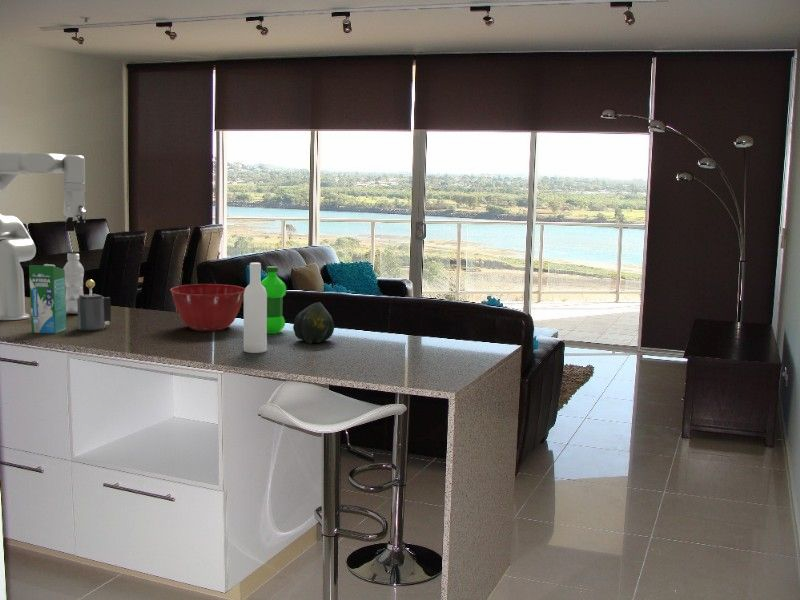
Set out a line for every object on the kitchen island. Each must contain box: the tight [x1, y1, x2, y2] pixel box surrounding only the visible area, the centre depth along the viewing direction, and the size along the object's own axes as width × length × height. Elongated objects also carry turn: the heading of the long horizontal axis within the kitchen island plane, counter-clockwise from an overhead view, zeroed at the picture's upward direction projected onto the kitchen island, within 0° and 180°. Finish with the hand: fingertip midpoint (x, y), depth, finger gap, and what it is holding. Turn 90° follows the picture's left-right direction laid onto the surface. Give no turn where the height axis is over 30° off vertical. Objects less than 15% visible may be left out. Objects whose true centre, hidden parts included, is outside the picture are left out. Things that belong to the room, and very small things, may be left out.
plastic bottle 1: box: [63, 253, 85, 315], centre depth 361 cm, size 8×8×25 cm
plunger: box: [85, 279, 96, 296], centre depth 328 cm, size 6×6×16 cm
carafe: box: [77, 293, 112, 332], centre depth 330 cm, size 9×12×13 cm
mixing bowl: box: [169, 283, 246, 332], centre depth 336 cm, size 28×28×16 cm
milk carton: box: [28, 263, 67, 335], centre depth 322 cm, size 9×9×25 cm
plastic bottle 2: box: [261, 265, 287, 335], centre depth 330 cm, size 10×10×25 cm
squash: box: [292, 301, 335, 345], centre depth 315 cm, size 14×15×15 cm
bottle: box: [243, 262, 268, 354], centre depth 294 cm, size 8×8×30 cm
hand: (75, 232), depth 337 cm, fingers open, 9 cm apart
